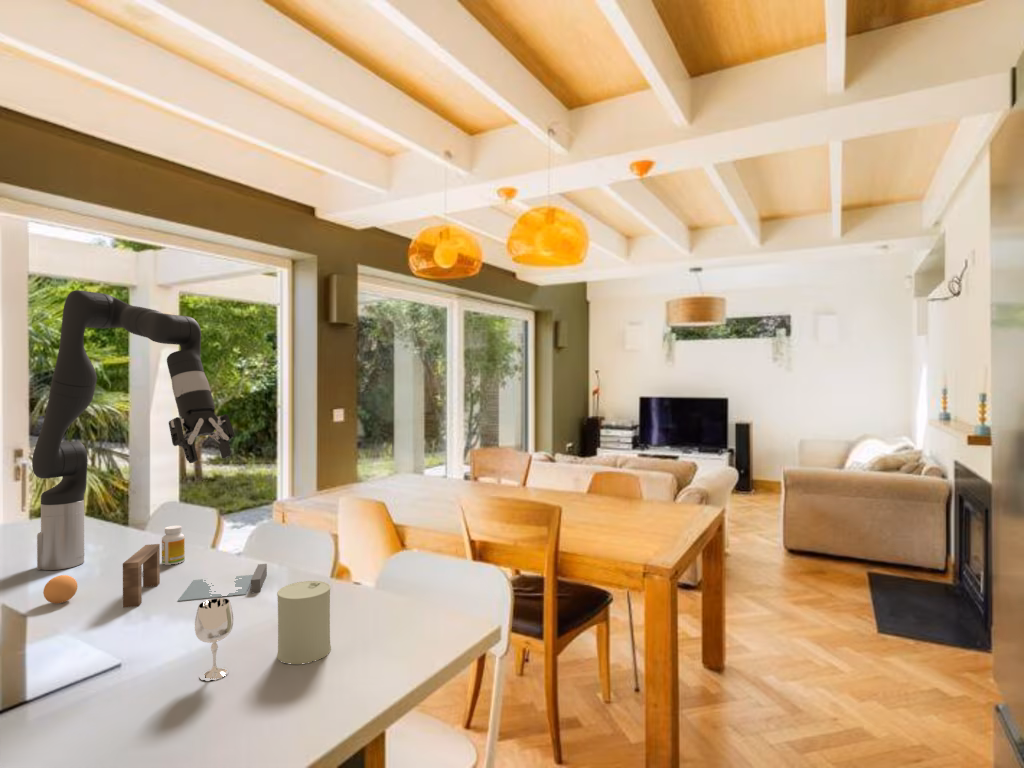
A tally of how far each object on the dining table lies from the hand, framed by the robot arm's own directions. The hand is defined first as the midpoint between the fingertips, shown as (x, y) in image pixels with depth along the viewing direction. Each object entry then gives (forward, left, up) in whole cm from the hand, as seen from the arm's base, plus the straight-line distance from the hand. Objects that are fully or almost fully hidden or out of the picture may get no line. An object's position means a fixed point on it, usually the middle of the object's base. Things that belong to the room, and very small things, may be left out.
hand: (210, 459), depth 131 cm
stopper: (+9, +5, -31) cm, 33 cm away
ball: (-32, +5, -28) cm, 43 cm away
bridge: (-16, +5, -31) cm, 35 cm away
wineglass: (+8, -40, -32) cm, 51 cm away
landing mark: (0, +5, -31) cm, 32 cm away
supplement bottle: (-16, +30, -32) cm, 47 cm away
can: (+22, -36, -32) cm, 53 cm away
